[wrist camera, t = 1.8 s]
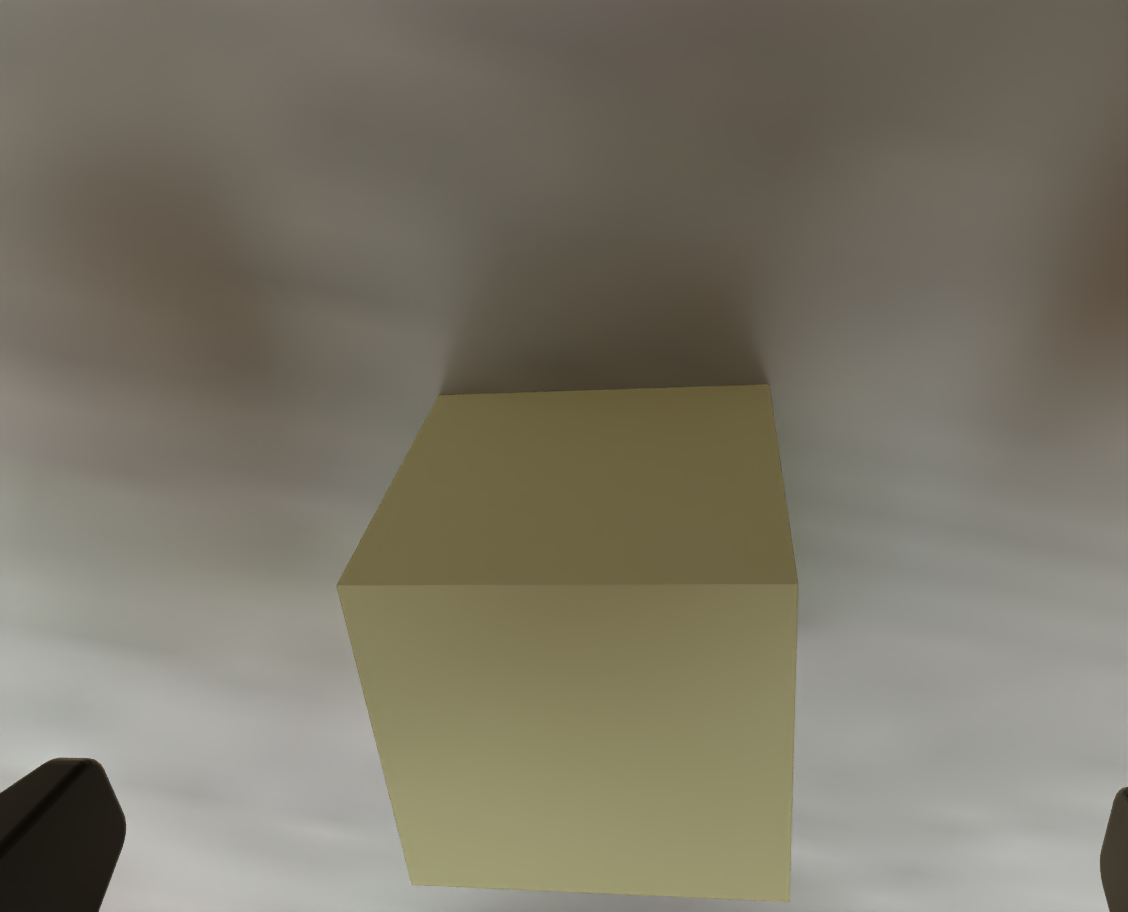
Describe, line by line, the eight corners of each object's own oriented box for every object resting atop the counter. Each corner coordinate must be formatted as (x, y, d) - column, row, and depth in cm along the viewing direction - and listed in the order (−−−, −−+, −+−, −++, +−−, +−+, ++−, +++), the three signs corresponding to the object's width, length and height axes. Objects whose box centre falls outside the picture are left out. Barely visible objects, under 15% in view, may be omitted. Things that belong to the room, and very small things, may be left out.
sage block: (768, 381, 12) (798, 584, 8) (765, 645, 13) (788, 901, 10) (440, 392, 12) (336, 585, 9) (482, 644, 14) (411, 885, 11)
